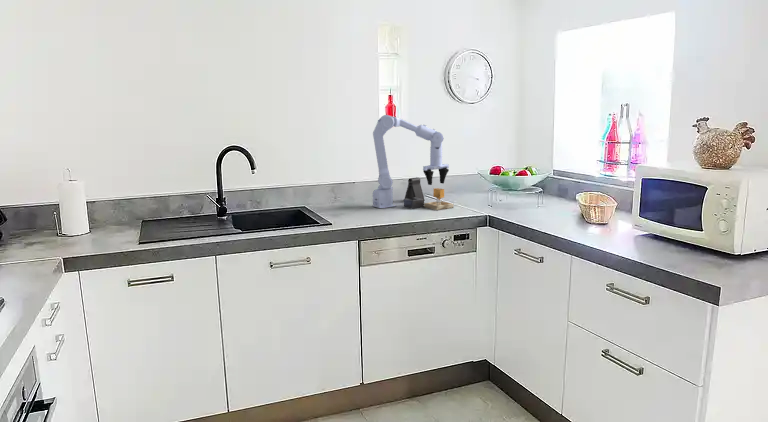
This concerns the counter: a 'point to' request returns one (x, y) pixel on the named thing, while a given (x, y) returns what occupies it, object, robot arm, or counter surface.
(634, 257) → the counter surface
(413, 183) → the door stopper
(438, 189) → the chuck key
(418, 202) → the chuck block
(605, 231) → the counter surface
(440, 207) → the key tray
